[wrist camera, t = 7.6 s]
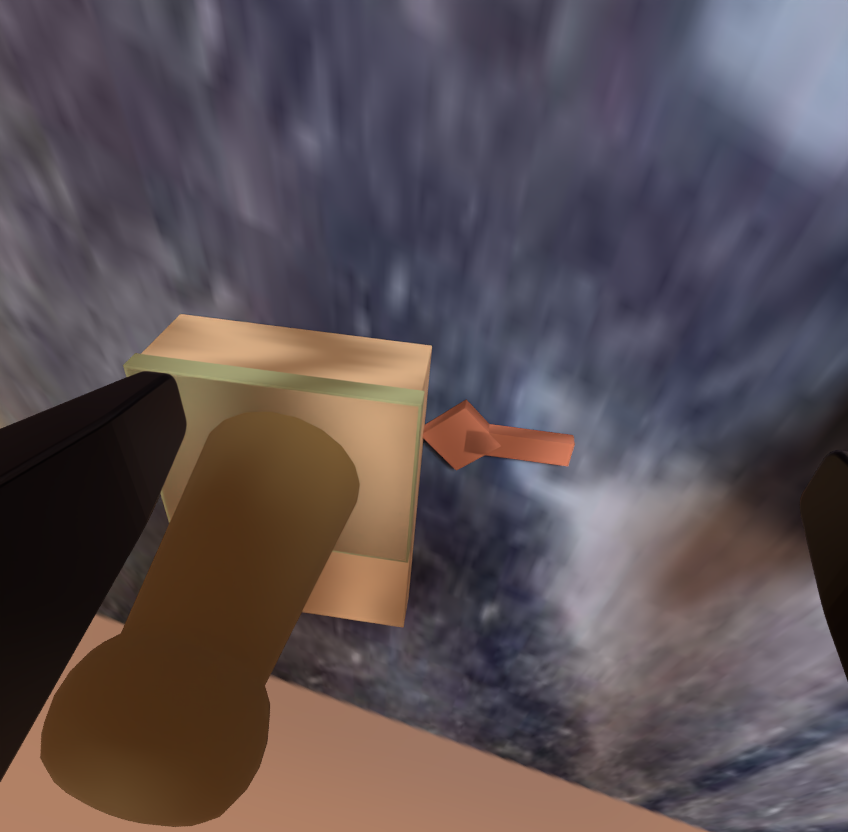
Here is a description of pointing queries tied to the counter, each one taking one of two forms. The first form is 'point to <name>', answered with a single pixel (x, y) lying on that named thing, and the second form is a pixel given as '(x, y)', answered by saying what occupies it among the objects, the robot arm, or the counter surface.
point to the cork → (205, 630)
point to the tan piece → (336, 435)
